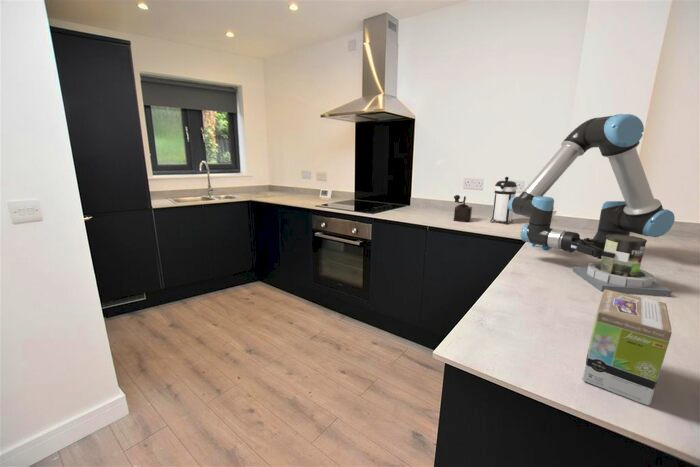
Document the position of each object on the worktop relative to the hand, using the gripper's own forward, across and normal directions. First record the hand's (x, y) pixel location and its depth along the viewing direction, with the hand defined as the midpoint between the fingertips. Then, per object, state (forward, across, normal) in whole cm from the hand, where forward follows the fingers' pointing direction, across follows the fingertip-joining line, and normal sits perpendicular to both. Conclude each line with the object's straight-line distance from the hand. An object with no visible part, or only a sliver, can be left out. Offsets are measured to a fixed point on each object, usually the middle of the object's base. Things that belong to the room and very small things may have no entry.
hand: (635, 254), depth 103 cm
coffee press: (-85, -66, -11) cm, 109 cm away
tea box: (+14, +59, -11) cm, 62 cm away
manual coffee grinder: (-102, -46, -11) cm, 112 cm away
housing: (-3, 0, -11) cm, 11 cm away
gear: (-40, -24, -11) cm, 48 cm away
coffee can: (-3, 0, -9) cm, 10 cm away
